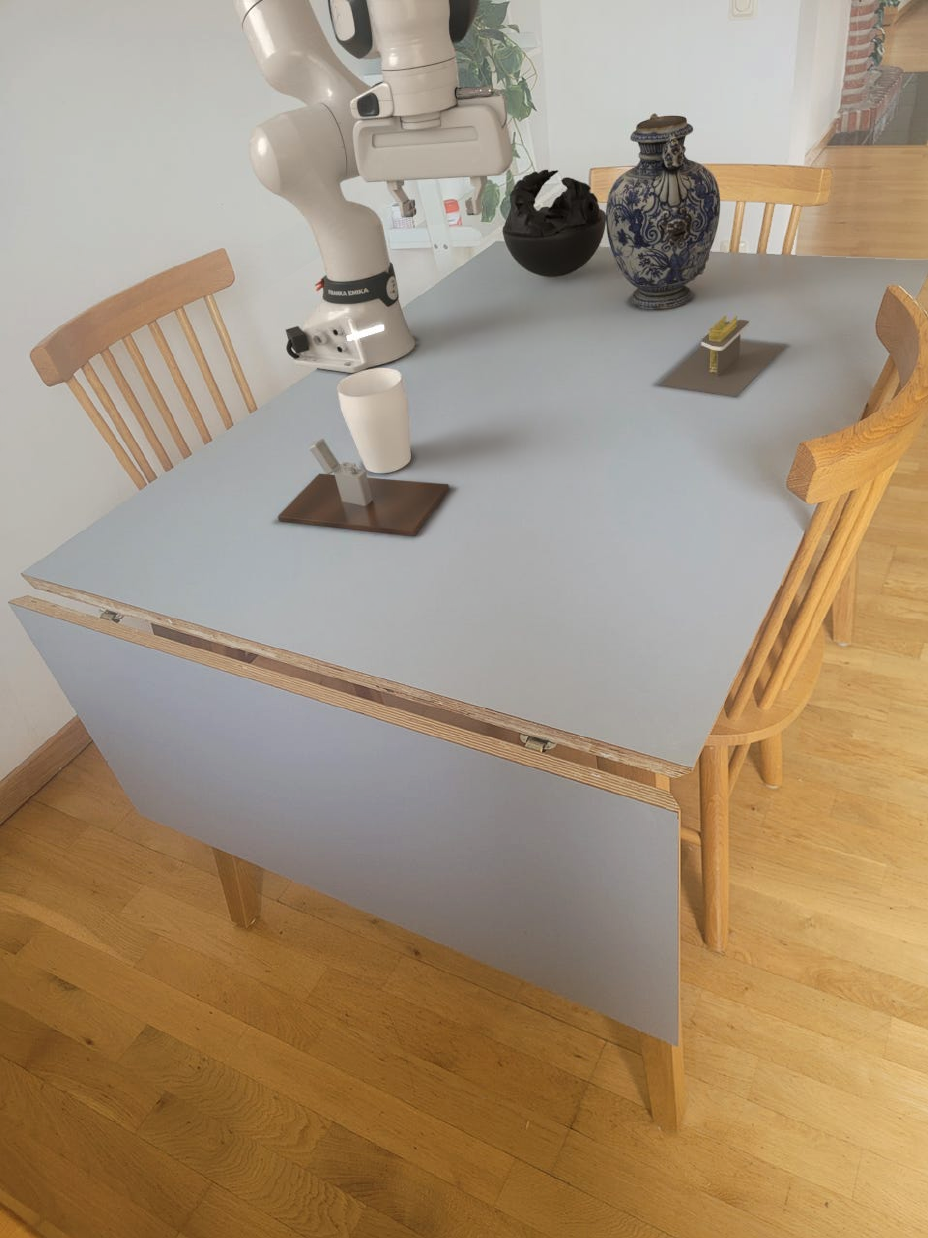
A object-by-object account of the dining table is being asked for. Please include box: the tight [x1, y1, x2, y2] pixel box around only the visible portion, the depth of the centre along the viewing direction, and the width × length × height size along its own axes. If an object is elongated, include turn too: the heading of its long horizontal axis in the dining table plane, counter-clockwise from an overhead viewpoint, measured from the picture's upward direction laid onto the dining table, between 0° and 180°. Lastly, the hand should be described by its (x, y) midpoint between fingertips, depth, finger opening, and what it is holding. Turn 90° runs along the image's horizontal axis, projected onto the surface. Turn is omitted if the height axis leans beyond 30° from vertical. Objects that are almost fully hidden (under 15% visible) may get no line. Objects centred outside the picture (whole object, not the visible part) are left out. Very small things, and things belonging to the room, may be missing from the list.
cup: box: [336, 367, 412, 474], centre depth 116 cm, size 9×9×12 cm
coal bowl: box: [501, 169, 606, 278], centre depth 164 cm, size 20×20×19 cm
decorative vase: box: [605, 112, 721, 311], centre depth 142 cm, size 21×19×28 cm
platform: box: [658, 315, 786, 397], centre depth 125 cm, size 12×18×7 cm, turn 143°
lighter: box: [309, 438, 373, 506], centre depth 109 cm, size 7×2×8 cm, turn 59°
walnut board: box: [277, 473, 450, 537], centre depth 111 cm, size 20×11×1 cm, turn 67°
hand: (441, 214), depth 109 cm, fingers open, 8 cm apart
